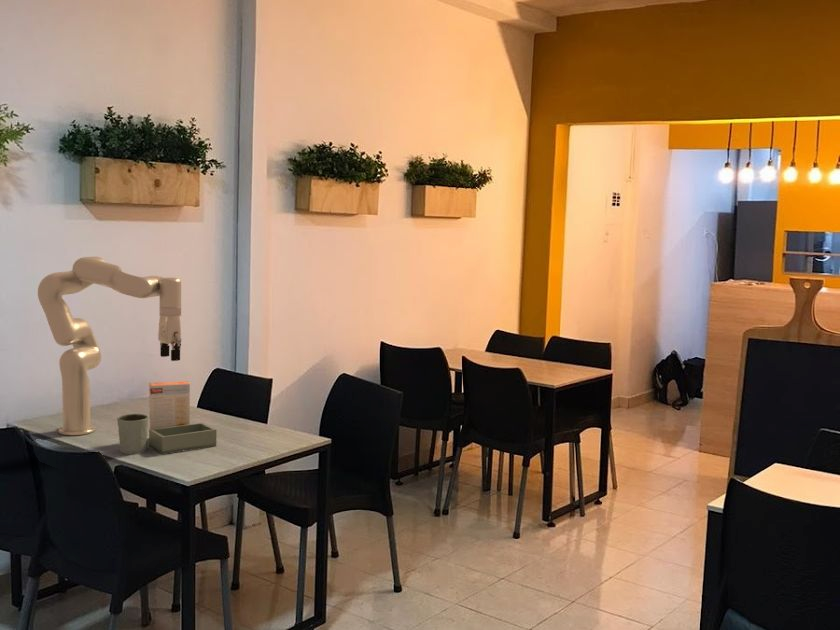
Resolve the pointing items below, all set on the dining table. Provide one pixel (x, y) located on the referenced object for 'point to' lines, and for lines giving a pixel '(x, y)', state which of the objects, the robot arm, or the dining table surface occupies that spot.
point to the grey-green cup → (133, 433)
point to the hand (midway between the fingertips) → (170, 358)
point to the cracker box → (169, 404)
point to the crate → (182, 438)
